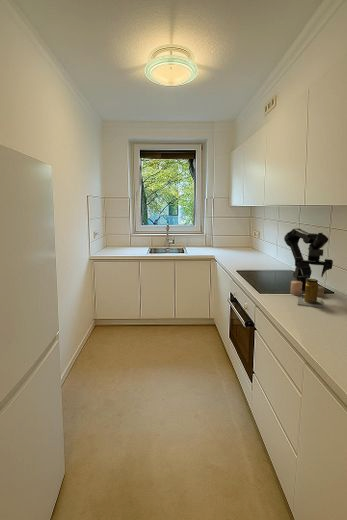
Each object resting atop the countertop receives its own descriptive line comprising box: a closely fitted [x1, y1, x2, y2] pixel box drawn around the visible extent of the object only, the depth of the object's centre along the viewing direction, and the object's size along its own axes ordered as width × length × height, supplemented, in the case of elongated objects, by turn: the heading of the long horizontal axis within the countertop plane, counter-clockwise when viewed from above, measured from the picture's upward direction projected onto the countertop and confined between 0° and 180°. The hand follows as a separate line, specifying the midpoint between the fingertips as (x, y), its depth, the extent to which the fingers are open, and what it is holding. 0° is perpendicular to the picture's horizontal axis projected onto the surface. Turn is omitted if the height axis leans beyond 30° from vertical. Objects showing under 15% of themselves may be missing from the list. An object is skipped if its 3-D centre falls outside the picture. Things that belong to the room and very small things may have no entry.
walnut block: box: [317, 284, 325, 298], centre depth 175 cm, size 5×5×5 cm
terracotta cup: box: [289, 280, 303, 296], centre depth 178 cm, size 6×6×7 cm
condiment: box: [303, 278, 322, 304], centre depth 160 cm, size 7×8×12 cm
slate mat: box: [297, 296, 324, 309], centre depth 161 cm, size 12×12×1 cm
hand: (312, 275), depth 166 cm, fingers open, 9 cm apart
